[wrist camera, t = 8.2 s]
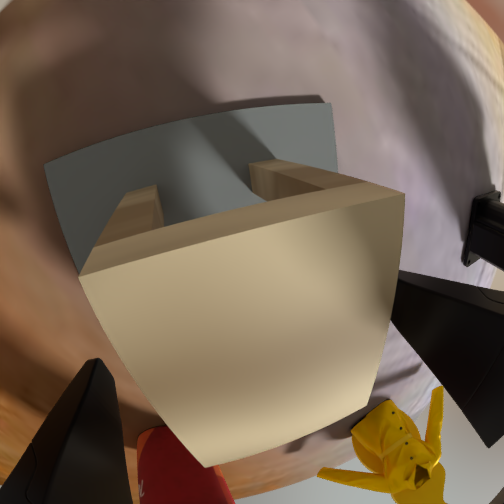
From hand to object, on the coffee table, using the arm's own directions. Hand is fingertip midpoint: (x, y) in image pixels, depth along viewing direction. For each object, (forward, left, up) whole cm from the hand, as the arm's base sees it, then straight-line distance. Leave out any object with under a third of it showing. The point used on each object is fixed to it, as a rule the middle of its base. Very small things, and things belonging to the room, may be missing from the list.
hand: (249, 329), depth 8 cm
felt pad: (0, 0, -5) cm, 5 cm away
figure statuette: (-13, +26, -5) cm, 30 cm away
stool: (0, 0, -4) cm, 5 cm away
